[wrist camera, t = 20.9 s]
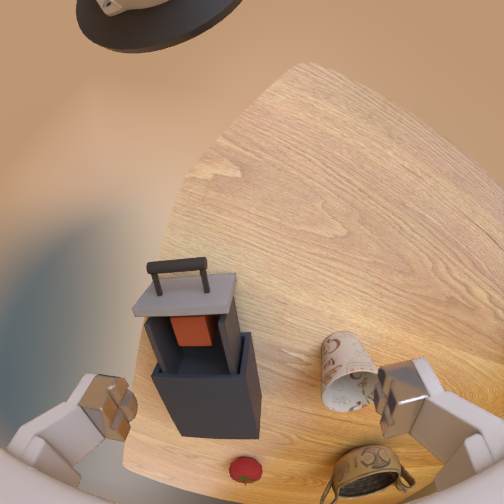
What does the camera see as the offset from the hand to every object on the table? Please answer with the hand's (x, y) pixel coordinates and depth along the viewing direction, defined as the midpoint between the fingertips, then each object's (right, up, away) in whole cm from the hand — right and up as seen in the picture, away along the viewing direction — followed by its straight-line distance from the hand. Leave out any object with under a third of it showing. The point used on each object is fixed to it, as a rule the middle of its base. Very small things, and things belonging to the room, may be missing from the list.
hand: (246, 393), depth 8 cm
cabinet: (-5, -15, +37) cm, 40 cm away
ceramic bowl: (+27, -44, +46) cm, 69 cm away
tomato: (-1, -45, +48) cm, 66 cm away
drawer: (-7, -3, +31) cm, 32 cm away
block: (-7, -4, +30) cm, 31 cm away
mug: (+15, -11, +34) cm, 39 cm away
